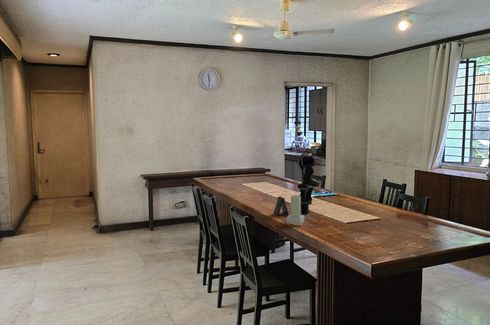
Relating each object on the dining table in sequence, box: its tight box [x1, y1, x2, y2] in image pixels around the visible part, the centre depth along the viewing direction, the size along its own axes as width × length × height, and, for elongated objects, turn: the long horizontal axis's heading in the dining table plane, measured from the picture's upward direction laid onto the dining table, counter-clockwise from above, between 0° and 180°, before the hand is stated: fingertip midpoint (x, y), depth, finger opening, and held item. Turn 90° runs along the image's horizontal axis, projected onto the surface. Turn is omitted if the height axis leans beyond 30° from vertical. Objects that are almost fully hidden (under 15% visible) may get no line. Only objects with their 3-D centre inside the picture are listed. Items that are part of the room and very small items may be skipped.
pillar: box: [290, 195, 302, 218], centre depth 243 cm, size 5×5×12 cm
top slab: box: [285, 213, 305, 223], centre depth 244 cm, size 9×9×2 cm
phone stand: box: [273, 196, 290, 217], centre depth 266 cm, size 9×6×12 cm, turn 108°
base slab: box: [285, 219, 305, 226], centre depth 244 cm, size 9×9×2 cm
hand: (307, 198), depth 255 cm, fingers open, 9 cm apart
